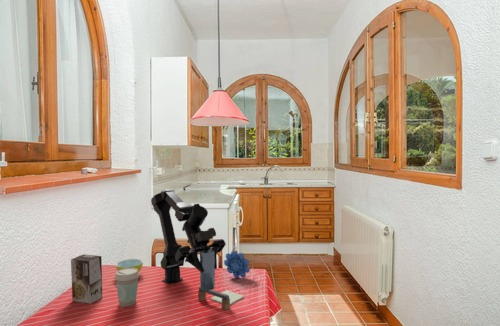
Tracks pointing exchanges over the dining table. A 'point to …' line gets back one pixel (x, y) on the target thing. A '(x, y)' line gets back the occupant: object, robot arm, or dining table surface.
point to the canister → (207, 270)
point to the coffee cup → (127, 286)
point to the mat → (232, 296)
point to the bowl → (130, 264)
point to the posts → (224, 302)
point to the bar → (216, 294)
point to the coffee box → (86, 278)
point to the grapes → (236, 264)
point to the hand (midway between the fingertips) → (209, 270)
